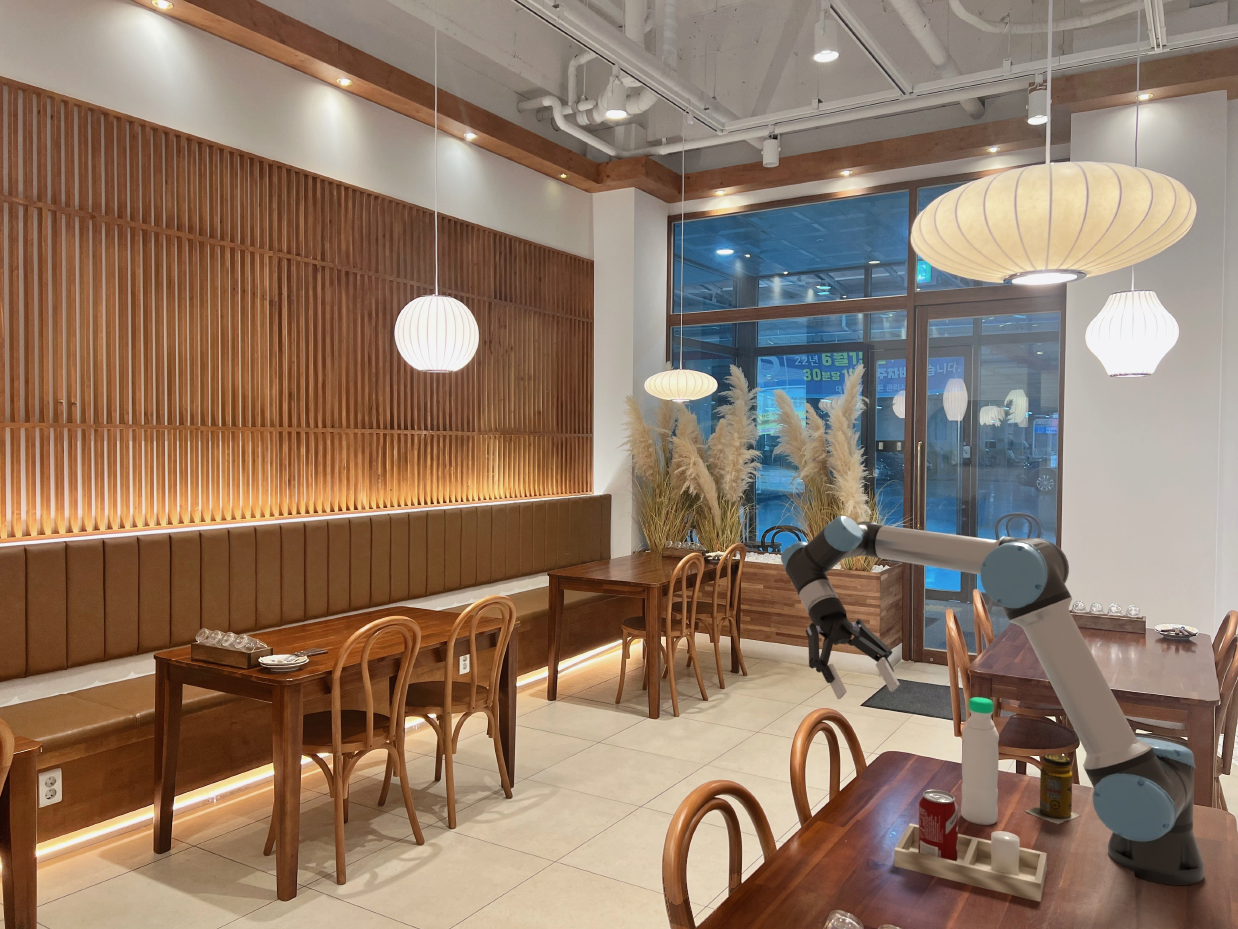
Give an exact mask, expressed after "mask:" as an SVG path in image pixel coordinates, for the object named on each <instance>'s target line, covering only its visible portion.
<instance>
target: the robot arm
mask: <svg viewBox="0 0 1238 929" xmlns="http://www.w3.org/2000/svg"><path fill="white" fill-rule="evenodd" d="M856 557H868V558H874V559H875V558H876V559H882V560H883V559H884V560H891V561H897V562H902V563H908V564H914V565H920V566H926V567H931V568H938V569H945V570H950V571H956V572H963V573H968V574H975V575H980V581H981V582H980V583H981V586H982V588H983V590H984V592H985V594H986V595H987V596H988V597H989V599H991V600H992V601H993V602H994V603H996V604H998V605H999V606H1001V607H1002V609H1003V611H1004V613H1005V614H1006V615H1005V616H1006V617H1007V618H1008V621H1009V622H1010V623H1012V624H1015V625H1017V626H1019V627H1021V628H1022V630H1023V631H1024V633H1025V635H1026V637H1027V640H1028V641H1029V643H1030V645H1031V647H1032V649H1033V651H1034V653H1035V655H1036V657H1037V659H1038V661H1039V663H1040V665H1041V667H1042V668H1043V671H1044V673H1045V675H1046V677H1047V679H1048V681H1049V683H1050V684H1051V686H1052V688H1053V690H1054V692H1055V694H1056V696H1057V698H1058V701H1059V702H1060V705H1061V706H1062V708H1063V710H1064V712H1065V714H1066V716H1067V719H1068V720H1069V722H1070V724H1071V726H1072V727H1073V729H1074V731H1075V734H1076V736H1077V737H1078V740H1079V741H1080V743H1081V745H1082V747H1083V749H1084V751H1085V754H1086V755H1085V758H1084V759H1085V760H1084V762H1083V764H1082V767H1083V769H1084V771H1085V773H1086V775H1087V778H1088V779H1089V781H1090V783H1091V785H1092V787H1093V792H1092V803H1093V804H1092V805H1093V808H1094V812H1095V813H1096V816H1097V817H1098V819H1099V820H1100V821H1101V823H1102V824H1103V825H1104V826H1105V827H1106V828H1108V830H1110V831H1111V832H1112V833H1111V836H1110V838H1109V841H1108V844H1107V854H1108V856H1109V857H1110V858H1111V859H1112V860H1113V861H1114V862H1116V863H1117V864H1119V865H1120V866H1122V867H1123V868H1126V869H1128V870H1130V871H1132V872H1134V876H1135V877H1137V878H1141V879H1143V880H1146V881H1151V882H1154V883H1160V884H1165V885H1172V886H1173V885H1174V886H1189V885H1194V884H1198V883H1200V882H1202V881H1203V879H1204V871H1205V865H1204V860H1203V858H1202V855H1201V852H1200V848H1199V845H1198V842H1197V840H1196V836H1195V834H1194V799H1195V798H1194V793H1195V792H1194V791H1195V790H1194V789H1195V769H1196V765H1195V755H1194V753H1193V751H1192V750H1191V749H1189V748H1188V747H1186V746H1184V745H1181V744H1178V743H1174V742H1170V741H1166V740H1162V739H1156V738H1149V737H1141V736H1136V735H1135V733H1134V731H1133V729H1132V727H1131V726H1130V724H1129V722H1128V720H1127V717H1126V716H1125V714H1124V712H1123V709H1122V708H1121V707H1120V704H1119V703H1118V701H1117V699H1116V697H1115V695H1114V693H1113V692H1112V689H1111V687H1110V686H1109V684H1108V682H1107V680H1106V678H1105V676H1104V674H1103V673H1102V671H1101V669H1100V666H1099V665H1098V663H1097V661H1096V659H1095V657H1094V656H1093V654H1092V652H1091V649H1090V648H1089V646H1088V644H1087V642H1086V640H1085V639H1084V636H1083V635H1082V633H1081V630H1080V628H1079V626H1077V623H1076V622H1075V620H1074V618H1073V616H1072V614H1071V612H1070V606H1071V602H1072V600H1073V597H1072V595H1071V593H1070V591H1069V590H1068V587H1067V586H1066V583H1067V580H1068V579H1069V578H1068V577H1069V573H1070V567H1069V566H1070V565H1069V561H1068V558H1067V555H1066V554H1065V553H1064V551H1063V550H1062V548H1060V547H1059V546H1058V545H1056V544H1055V543H1053V542H1051V541H1050V540H1047V539H1045V538H1040V537H1013V536H1002V537H1000V538H999V539H997V540H996V539H990V538H989V539H988V538H982V537H981V538H980V537H974V536H968V535H967V536H966V535H960V534H959V535H958V534H953V533H952V534H951V533H946V532H945V533H943V532H936V531H935V532H934V531H929V530H923V529H914V528H913V529H912V528H906V527H898V526H897V527H896V526H891V525H882V524H878V523H877V522H874V521H865V520H863V521H860V522H855V520H853V518H851V517H847V516H845V515H838V516H837V517H835V518H834V519H832V521H829V522H828V523H827V524H826V525H825V526H824V528H822V530H820V531H819V532H818V533H817V535H815V537H813V538H812V539H811V540H810V541H809V542H806V541H797V542H794V543H792V544H791V545H789V546H787V547H786V548H785V549H784V550H782V553H781V556H780V560H781V563H782V566H783V567H784V571H785V574H786V575H787V577H788V578H789V579H790V582H791V584H792V585H793V587H794V589H795V590H796V592H797V595H798V597H799V599H800V601H801V602H802V605H803V607H804V609H805V611H806V612H807V614H808V617H809V619H810V620H811V623H810V624H809V626H808V627H807V628H806V629H805V634H806V636H807V639H808V640H807V641H808V642H807V643H808V667H809V668H810V669H813V670H814V669H815V671H816V672H817V673H821V674H822V676H823V678H824V679H825V682H826V683H827V684H829V685H830V686H831V689H832V691H833V693H834V695H835V697H836V699H837V700H841V699H842V698H843V697H844V696H845V694H846V693H848V691H847V689H846V687H845V685H844V683H843V681H842V680H841V677H840V675H839V674H838V671H837V669H836V668H835V666H834V664H833V663H829V662H830V661H829V660H830V657H831V653H832V650H833V645H834V646H838V645H840V644H841V645H846V644H847V645H849V646H851V647H854V648H856V649H857V650H859V651H860V652H862V653H863V654H865V655H866V656H868V657H869V658H871V659H872V660H874V661H875V662H876V663H875V667H876V668H877V670H878V672H879V674H880V676H881V677H882V680H883V681H884V683H885V685H886V686H887V688H888V691H889V692H890V693H892V692H894V691H895V690H896V689H898V687H899V686H901V683H900V682H899V681H898V679H897V676H896V675H895V674H894V672H895V671H894V667H893V665H891V662H890V660H889V658H890V656H891V655H893V650H892V649H891V648H890V647H889V646H887V644H885V642H883V641H882V640H881V639H880V638H879V637H878V636H876V634H874V632H872V631H871V630H870V628H868V627H867V626H866V624H865V623H864V622H863V620H862V619H861V618H857V620H855V621H854V622H851V621H850V620H849V619H848V616H847V610H846V609H845V606H844V605H843V603H842V601H841V599H840V598H839V595H838V594H837V592H836V591H835V588H834V586H833V585H832V583H831V581H830V580H829V578H828V576H827V573H828V572H830V571H831V570H832V569H833V568H834V567H835V566H836V565H838V563H840V562H841V561H842V560H844V559H849V558H856ZM819 635H820V636H821V637H822V638H823V642H822V648H821V651H820V636H819ZM852 636H853V637H852Z"/></svg>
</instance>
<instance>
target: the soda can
mask: <svg viewBox="0 0 1238 929" xmlns="http://www.w3.org/2000/svg"><path fill="white" fill-rule="evenodd" d="M955 799H956V798H955V796H954V795H953V794H952V793H950V792H948V791H946V790H945V791H944V790H939V789H928V790H925V791H923V793H922V798H921V799H920V800H919V803H918V804H919V805H918V825H919V846H918V853H922V854H926V855H931V856H935V857H939V858H944V859H948V860H952V861H956V862H957V853H958V834H959V806H958V805H957V803H956V801H955Z"/></svg>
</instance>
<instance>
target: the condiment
mask: <svg viewBox="0 0 1238 929" xmlns="http://www.w3.org/2000/svg"><path fill="white" fill-rule="evenodd" d="M1071 763H1072V762H1071V758H1069V757H1067V756H1065V755H1064V754H1063V755H1062V754H1057V753H1046V754H1044V755H1042V764H1041V765H1042V766H1041V768H1040V777H1039V778H1040V779H1039V782H1040V784H1039V806H1035V807H1033V808H1030V809H1026V810H1025V812H1026V813H1028V814H1031V815H1032V816H1035V817H1038V818H1041V819H1043V820H1044V821H1048V822H1051V823H1053V824H1056V825H1059V824H1063V823H1064V822H1066V821H1070V820H1072V819H1075V818H1078V817H1079V816H1080V815H1081V814H1078V813H1076V812H1073V811H1072V808H1073V806H1072V804H1073V803H1072V802H1073V800H1072V799H1073V797H1072V796H1073V772H1072V771H1071V769H1072V768H1071V767H1072V766H1071Z"/></svg>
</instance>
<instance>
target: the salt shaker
mask: <svg viewBox="0 0 1238 929" xmlns="http://www.w3.org/2000/svg"><path fill="white" fill-rule="evenodd" d="M990 836H991V837H990V838H991V840H990V841H991V870H995V871H999V872H1004V873H1008V874H1012V875H1017V876H1019V847H1020V837H1019V836H1018V835H1016V834H1014V833H1012V832H1008V831H1002V830H1001V831H1000V830H996V831H993V832H991V833H990Z"/></svg>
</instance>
